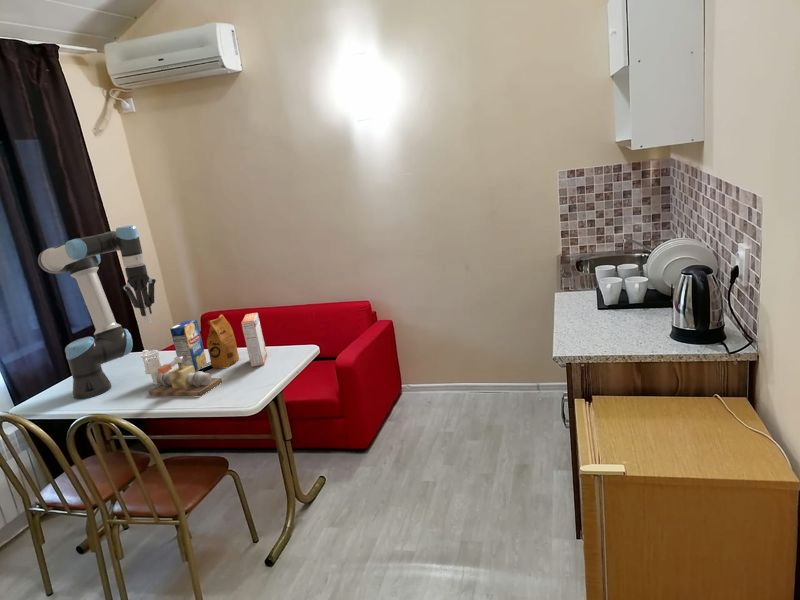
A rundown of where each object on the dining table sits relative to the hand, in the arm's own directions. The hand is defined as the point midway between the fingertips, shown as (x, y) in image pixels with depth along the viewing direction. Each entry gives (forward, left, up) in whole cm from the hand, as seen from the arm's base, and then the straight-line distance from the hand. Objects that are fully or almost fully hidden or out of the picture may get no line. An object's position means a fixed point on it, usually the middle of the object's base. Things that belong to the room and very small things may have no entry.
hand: (148, 322), depth 238 cm
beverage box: (-4, +23, -30) cm, 38 cm away
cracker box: (+23, +34, -30) cm, 51 cm away
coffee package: (+7, +31, -30) cm, 43 cm away
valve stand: (+8, +3, -30) cm, 31 cm away
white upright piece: (-13, +9, -30) cm, 34 cm away
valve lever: (+9, -3, -18) cm, 20 cm away
